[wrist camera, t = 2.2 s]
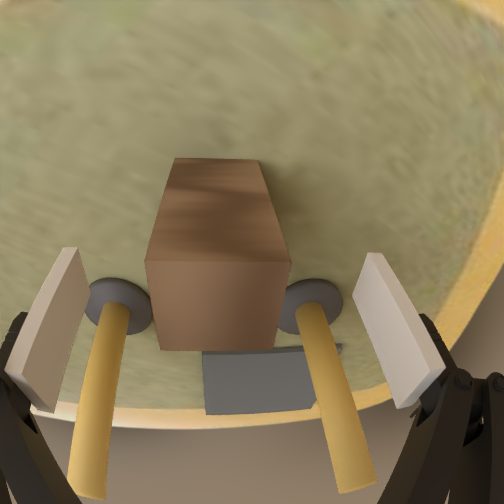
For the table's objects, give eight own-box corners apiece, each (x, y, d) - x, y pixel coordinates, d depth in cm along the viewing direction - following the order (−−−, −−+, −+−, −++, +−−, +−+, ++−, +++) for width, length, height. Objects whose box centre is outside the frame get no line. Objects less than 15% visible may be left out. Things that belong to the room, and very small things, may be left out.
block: (176, 228, 21) (160, 350, 13) (175, 158, 18) (144, 260, 10) (250, 229, 22) (272, 349, 14) (257, 160, 19) (291, 261, 11)
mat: (205, 411, 38) (206, 414, 37) (202, 349, 29) (202, 354, 29) (310, 404, 39) (311, 408, 39) (340, 343, 31) (342, 348, 31)
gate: (94, 326, 26) (62, 494, 13) (77, 276, 23) (19, 470, 10) (330, 326, 29) (380, 486, 16) (348, 278, 26) (423, 460, 13)
